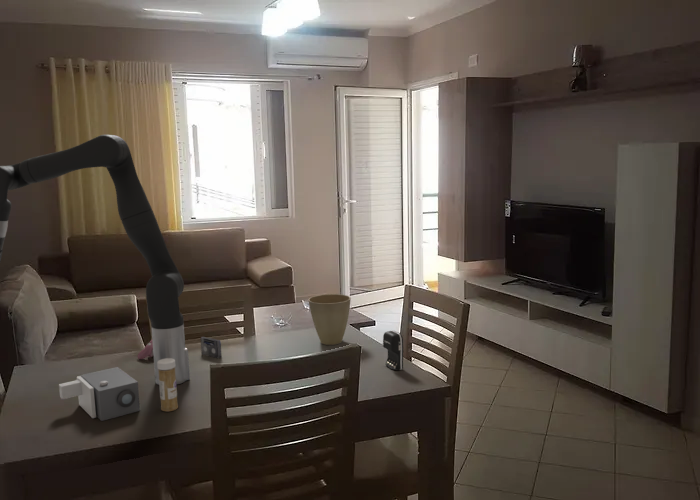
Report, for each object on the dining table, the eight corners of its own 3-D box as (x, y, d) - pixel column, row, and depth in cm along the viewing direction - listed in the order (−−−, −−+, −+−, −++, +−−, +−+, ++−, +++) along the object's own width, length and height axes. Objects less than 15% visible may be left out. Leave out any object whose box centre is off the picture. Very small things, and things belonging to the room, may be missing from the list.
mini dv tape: (221, 357, 212) (220, 340, 211) (218, 358, 210) (217, 341, 209) (204, 353, 216) (203, 336, 215) (201, 354, 215) (200, 337, 214)
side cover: (82, 403, 174) (79, 375, 172) (96, 417, 164) (93, 387, 163) (59, 409, 170) (56, 381, 169) (72, 423, 161) (69, 393, 159)
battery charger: (381, 365, 199) (381, 330, 198) (392, 363, 201) (391, 328, 199) (393, 372, 193) (392, 336, 192) (404, 370, 195) (403, 334, 193)
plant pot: (342, 334, 235) (341, 292, 233) (358, 344, 222) (357, 300, 219) (304, 339, 229) (302, 296, 227) (318, 350, 216) (316, 305, 213)
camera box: (119, 393, 181) (117, 364, 179) (141, 411, 168) (139, 380, 166) (82, 402, 175) (80, 372, 173) (102, 422, 161) (99, 389, 160)
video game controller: (146, 364, 210) (154, 347, 209) (135, 358, 211) (142, 340, 209) (161, 355, 220) (168, 338, 218) (150, 349, 220) (157, 332, 219)
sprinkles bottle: (177, 411, 168) (174, 362, 165) (160, 413, 166) (156, 363, 164) (178, 404, 172) (175, 356, 170) (161, 406, 171) (157, 358, 169)
